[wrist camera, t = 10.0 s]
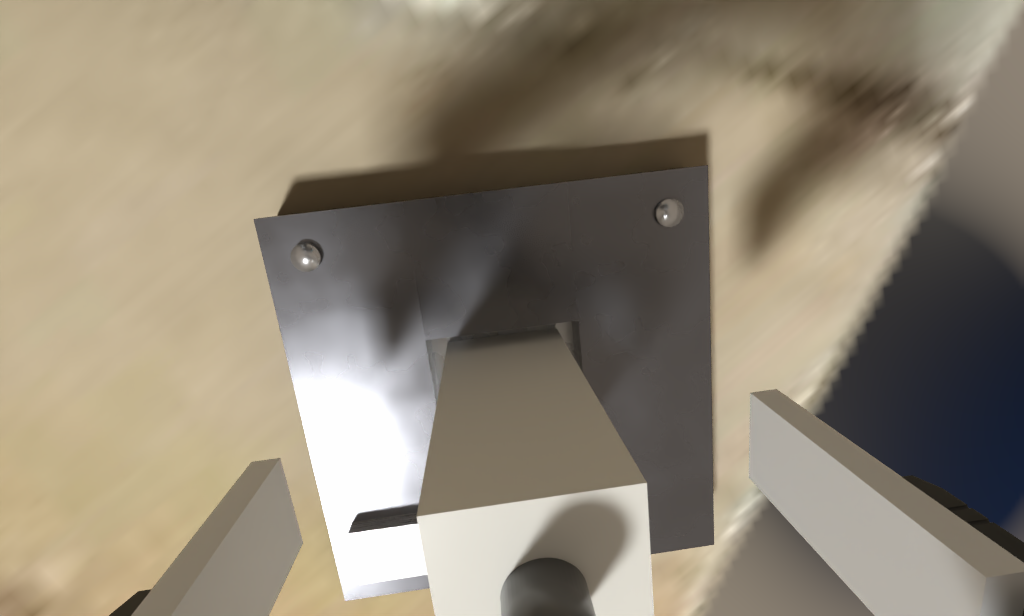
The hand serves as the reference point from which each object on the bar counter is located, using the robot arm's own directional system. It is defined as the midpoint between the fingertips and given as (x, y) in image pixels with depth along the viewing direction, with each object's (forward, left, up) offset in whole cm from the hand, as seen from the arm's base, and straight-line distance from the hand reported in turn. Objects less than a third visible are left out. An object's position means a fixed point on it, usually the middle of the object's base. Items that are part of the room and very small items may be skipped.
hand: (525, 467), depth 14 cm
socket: (0, 0, -7) cm, 8 cm away
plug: (0, 0, -7) cm, 7 cm away
